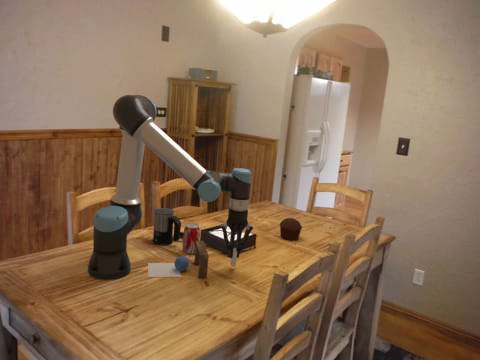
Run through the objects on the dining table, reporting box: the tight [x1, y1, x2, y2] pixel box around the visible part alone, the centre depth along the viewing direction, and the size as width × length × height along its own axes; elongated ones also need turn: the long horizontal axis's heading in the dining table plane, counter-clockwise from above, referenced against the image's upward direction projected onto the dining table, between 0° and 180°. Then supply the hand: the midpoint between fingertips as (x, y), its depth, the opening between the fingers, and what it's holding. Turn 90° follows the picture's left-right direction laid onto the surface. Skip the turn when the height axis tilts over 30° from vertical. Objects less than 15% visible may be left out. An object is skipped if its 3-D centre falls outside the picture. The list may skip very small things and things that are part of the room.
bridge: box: [194, 240, 210, 279], centre depth 155 cm, size 3×14×9 cm, turn 13°
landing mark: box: [147, 262, 182, 279], centre depth 153 cm, size 12×12×1 cm
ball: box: [174, 255, 190, 272], centre depth 154 cm, size 6×6×6 cm
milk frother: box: [151, 207, 184, 246], centre depth 182 cm, size 14×16×15 cm
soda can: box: [182, 223, 201, 255], centre depth 171 cm, size 7×7×12 cm
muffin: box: [279, 217, 303, 242], centre depth 201 cm, size 12×11×10 cm
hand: (233, 265), depth 159 cm, fingers closed
